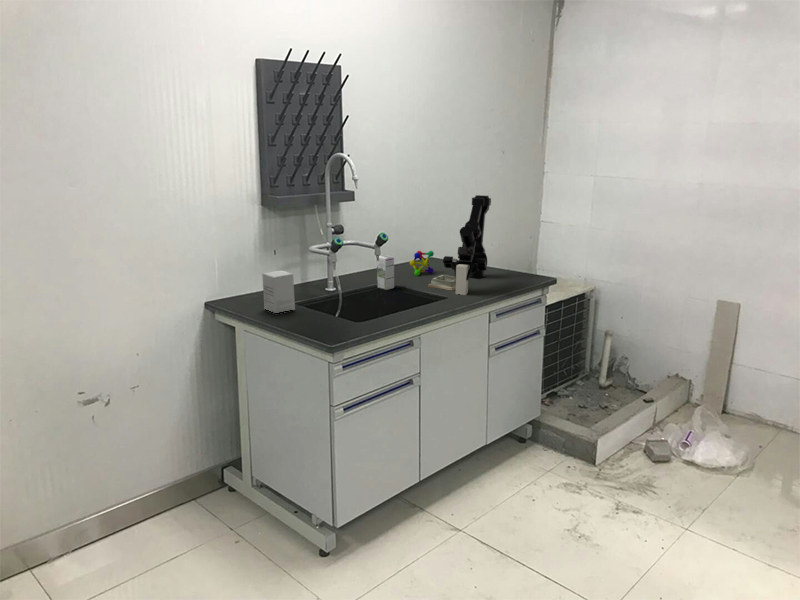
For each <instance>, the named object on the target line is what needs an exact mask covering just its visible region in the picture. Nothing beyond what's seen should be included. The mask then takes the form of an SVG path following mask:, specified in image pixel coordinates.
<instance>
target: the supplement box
mask: <svg viewBox="0 0 800 600" xmlns="http://www.w3.org/2000/svg"><path fill="white" fill-rule="evenodd" d="M261 274H262V288H263V291H262V292H263V304H264V305H263V306H264V310H265V309H266V310H269V311H271V312H274V313H279V312H283V311H289V310H293V311H295V310H296V303H295V287H294V286H295V285H294V273H291V272H288V271H285V270H282V269H281V270H275V271H270V272H264V273H263V272H262V273H261ZM266 310H265V311H266ZM269 311H268V312H269ZM271 312H270V313H271ZM289 312H290V311H289ZM274 313H273V314H274Z"/></svg>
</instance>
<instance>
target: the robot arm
mask: <svg viewBox="0 0 800 600" xmlns="http://www.w3.org/2000/svg"><path fill="white" fill-rule="evenodd" d="M491 203H492V198H491V197H490V196H489V195H476V194H475V196H474V197H471V210H470V211H471V212H470V215H469V220H468V221H467V222H466V223H465V224H464V226H463V227H461V228H460V229H459V236H460V240H461V243H462V245H461V246H458V248H457V258H458V259H456V258H454V256H451V255H446V256H444V257H443V259H442V263H443V265H444V268H447V269H452V270H453V272H454V277H455V279H456V266H457V265H458V264H463V265H469V271H468V274H467V278H466V280H468V281H469V280H470V278H472V279H476V280H477V279H482V278H486V277H487V276H486V275H485V274H484V273H485V271H487V268H488V267H487V266H488V256H487V253H486V248H485V247H484V245H483V243H484V242H483V241H484V233H485V232H484V230H485V221H486V220H485V219H486V215H487V213H488V211H489V210H490V206H491V205H492V204H491Z"/></svg>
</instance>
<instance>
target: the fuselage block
mask: <svg viewBox="0 0 800 600" xmlns="http://www.w3.org/2000/svg"><path fill="white" fill-rule="evenodd" d="M469 267H470V266H469V265H463V264H458V265H457V266H456V289H455V292H454V293H455V295H458V294H460V296H467V294H468V293H469V279H468V280H466V278H467V274H468V271H469Z"/></svg>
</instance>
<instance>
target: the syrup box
mask: <svg viewBox="0 0 800 600" xmlns="http://www.w3.org/2000/svg"><path fill="white" fill-rule="evenodd" d="M376 283H377V284H376V286H377V287H376V288H378V289H381V290H385V291H386V290H387V291H388V290H391V289H394V288H395V257H394V256H393V255H391V256H390V255H387V254H384V255H379V260H378V261H377V260H376Z"/></svg>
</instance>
